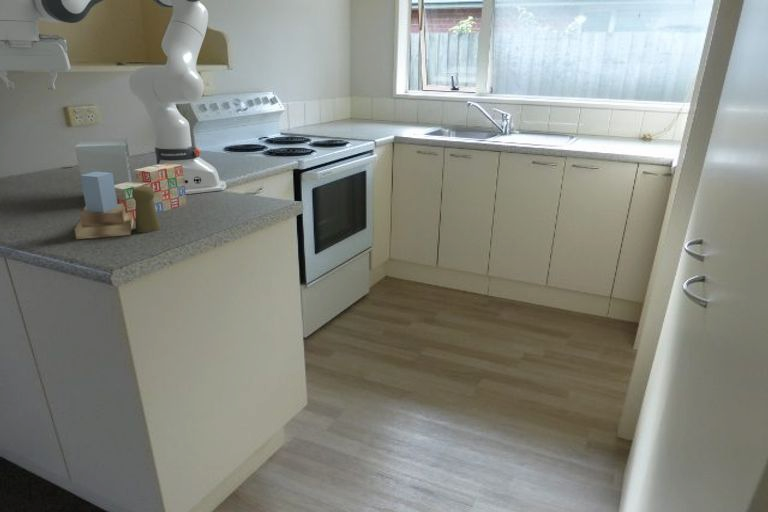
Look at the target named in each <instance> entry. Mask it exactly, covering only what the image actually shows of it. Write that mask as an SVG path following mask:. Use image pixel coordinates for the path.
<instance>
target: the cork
mask: <svg viewBox="0 0 768 512" xmlns="http://www.w3.org/2000/svg"><path fill="white" fill-rule="evenodd" d="M154 195H155V193H154V190H153V189H152V188H151V187H137V188H135V189H133V191H132V196H133V199H134V200H135V201H136V220H135V231H136V232H138V233H151V232H152V233H153V232H156V231H158V230H160V229H161V228H162V226H161V222H160V220H159V216H158V213H157V212H156V208H155V205H154V201H153V198H154Z"/></svg>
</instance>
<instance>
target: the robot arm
mask: <svg viewBox="0 0 768 512" xmlns="http://www.w3.org/2000/svg"><path fill="white" fill-rule="evenodd" d="M102 1H104V0H0V78H1V79H2V80H3V82H4V83H5V85H6V89H7V90H15V89H16V86H15V83H14V81H10V80H9V79H8V77H7V76H8V72H48V73H49V76H51V78H50V81H47V82H46V86H47V90H56V85H55V82H56V80H57V78H58V72H69V71H70V70H71V64H70V63H71V62H70V60H69V56H68V53H67V52H68V50H69V49H68V43H67V41H66V39H65V38H63V37H62V36H60V35H58V34H53V35H52V34H41V33H40V29H39V24H38V23H39V22H38V20H39V21H42V22H46V23H68V24H75V23H79V22H81V21H83V20H84V19H85V18H86V16H87V15H88V14H89V12H90V11H91V9H92V8H93V7H94V6H96V5H97V4H99V3H101V2H102ZM153 1H154V2H155V3H156V4H157V5H158V6H160V7H163V8H172V16H171V19H170V20H169V23H168V25H167V29H166V30H165V33H164V36H163V38H162V41H161V49H162V52H163V53H164V55H165V56H166V57H167V59H166V60H167V61H166V63H165V64H164V66H150V65H149V66H144V67H140V68H137V69H135V70H133V71H132V72H131V74H130V76H129V81H128V83H129V88H130V91H131V92H132V94H133V95H134V96H135V97H136V98H137V99H138V100H139V101H140V102H141V104H142V105H143V106H144V108H145V110H146V112H147V114H148V116H149V119H150V122H151V124H152V125H151V126H152V129H153V137H154V142H155V146H154V155H155V162H156V165H158V164H159V165H161V164H166V163H168V164H177V165H182V168H183V175H184V184H185V185H184V186H185V195H191V194H201V193H210V192H217V191H224V190H226V189H227V182H226V181H224V180H223V179H220V177H219V173H218V171H217V169H216V168H215V167H214V166H213V165H212V164H210V163H209V162H207V161H206V160H204V159H202V158H201V157H200V155H201V150H200V149H199V148H198V147H197V146H194V145H192V144H193V143H192V137H191V136H192V135H191V128H190V123H189V121H188V120H187V118H185V117H184V116H183V115H182V114H181V113H180V111H179V110H178V108H177V105H176V104H178V105H187V104H191V103H195V102H199V101H200V100H201V99H202V98H203V95H204V92H205V83H204V81H203V77H202V76H201V74H200V73H199V72H198V70H197V62H198V57H199V54H200V52H201V47H202V45H203V42H204V39H205V36H206V33H207V29H208V23H209V12H208V10H207V8H206V6H205V5H204V4H203V3H202V2H200V0H153Z"/></svg>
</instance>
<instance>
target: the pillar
mask: <svg viewBox="0 0 768 512" xmlns="http://www.w3.org/2000/svg"><path fill="white" fill-rule="evenodd" d="M79 177H80V182H81V186H82V194H83V197H84V203H86V204H85V206H86V209H87V211H92V212H102V213H105V212H107V211H110V210H113V209H116V208H118V204H117V198H116V192H115V186H114V180H113V174H112V173H107V172H92V173H88V174H84V175H79Z"/></svg>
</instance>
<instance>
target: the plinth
mask: <svg viewBox="0 0 768 512" xmlns="http://www.w3.org/2000/svg"><path fill="white" fill-rule="evenodd" d="M134 222H135V220H133V214H132V213H125V207H124V204H118V208H116V209H113V210H110V211H107V212H105V213H102V212H92V211H87V209H86V205H85V207H84V208H83V209H82V212H81V213H80V219H79V221H78V223H77V224H76V227H75V228H74V233H75V239H76V240H83V239H86V238H87V239H95V238H96V239H97V238H98V237H99V238H107V237H108V238H109V237H120V236H131V234H132V230H133V226H134Z"/></svg>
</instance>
